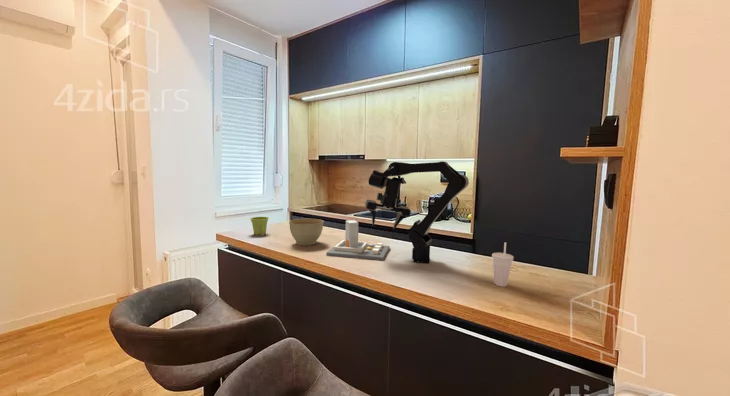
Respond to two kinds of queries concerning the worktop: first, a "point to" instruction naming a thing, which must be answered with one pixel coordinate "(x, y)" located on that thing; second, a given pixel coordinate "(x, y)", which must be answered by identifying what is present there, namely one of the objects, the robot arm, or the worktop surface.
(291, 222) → the planter bowl
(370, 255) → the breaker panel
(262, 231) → the plant pot
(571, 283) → the worktop surface
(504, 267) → the smoothie
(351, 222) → the skincare box
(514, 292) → the worktop surface
